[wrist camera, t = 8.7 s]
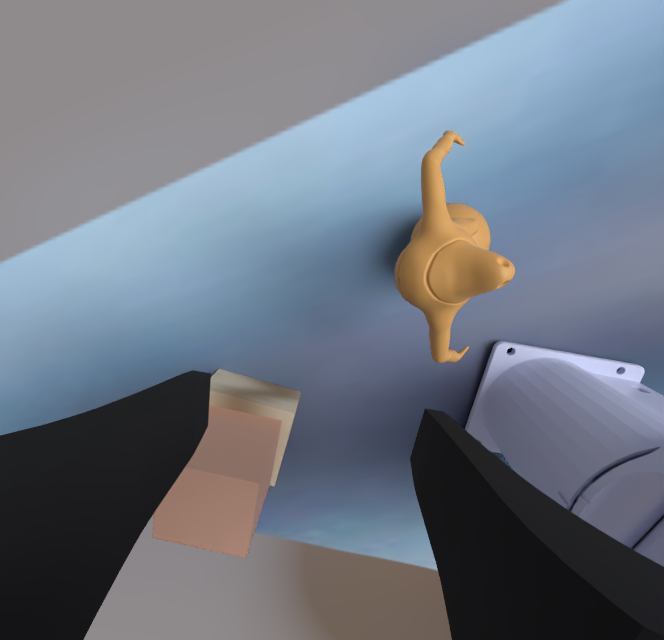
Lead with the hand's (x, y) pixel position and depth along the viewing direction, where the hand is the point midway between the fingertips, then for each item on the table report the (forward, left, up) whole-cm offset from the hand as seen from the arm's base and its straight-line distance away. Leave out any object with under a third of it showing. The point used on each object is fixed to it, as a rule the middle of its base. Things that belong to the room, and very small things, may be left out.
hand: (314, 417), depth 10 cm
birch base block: (+5, +8, -11) cm, 14 cm away
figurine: (-4, -6, -11) cm, 13 cm away
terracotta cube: (+5, +8, -8) cm, 12 cm away
